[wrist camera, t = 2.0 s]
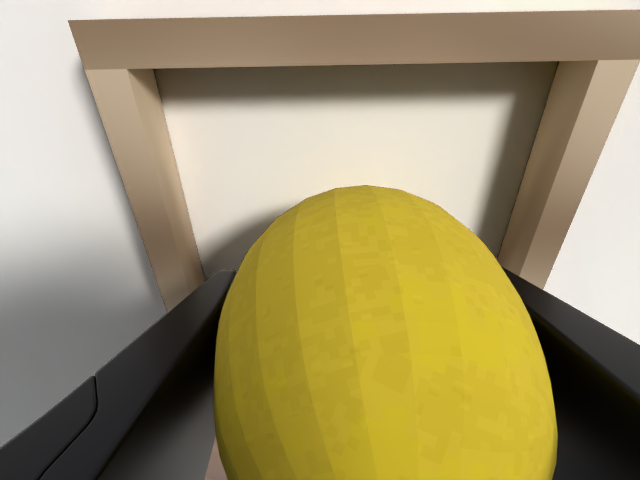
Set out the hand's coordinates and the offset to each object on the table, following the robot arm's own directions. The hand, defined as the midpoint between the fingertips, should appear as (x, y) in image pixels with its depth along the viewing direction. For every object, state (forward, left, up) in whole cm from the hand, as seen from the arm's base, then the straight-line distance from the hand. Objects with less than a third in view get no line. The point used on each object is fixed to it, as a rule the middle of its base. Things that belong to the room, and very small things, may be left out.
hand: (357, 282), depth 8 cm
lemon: (0, 0, -2) cm, 2 cm away
